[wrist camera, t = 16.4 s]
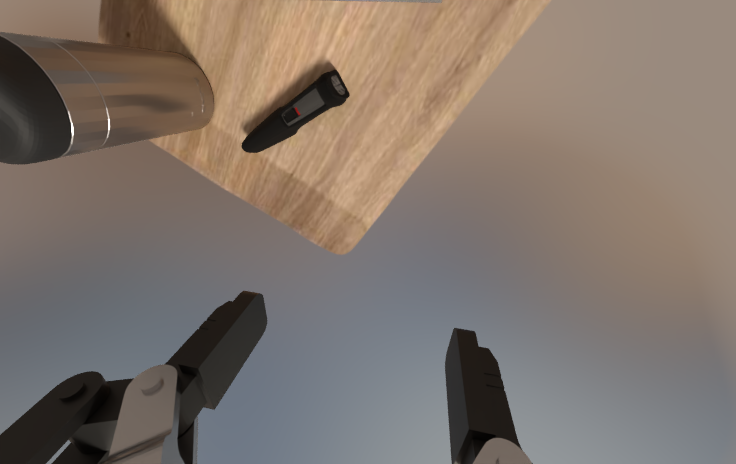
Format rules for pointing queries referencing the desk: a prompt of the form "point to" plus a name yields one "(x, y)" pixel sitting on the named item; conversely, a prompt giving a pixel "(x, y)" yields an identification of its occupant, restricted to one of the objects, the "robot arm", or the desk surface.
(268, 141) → the electric trimmer
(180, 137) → the desk surface
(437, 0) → the panel
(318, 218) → the desk surface
